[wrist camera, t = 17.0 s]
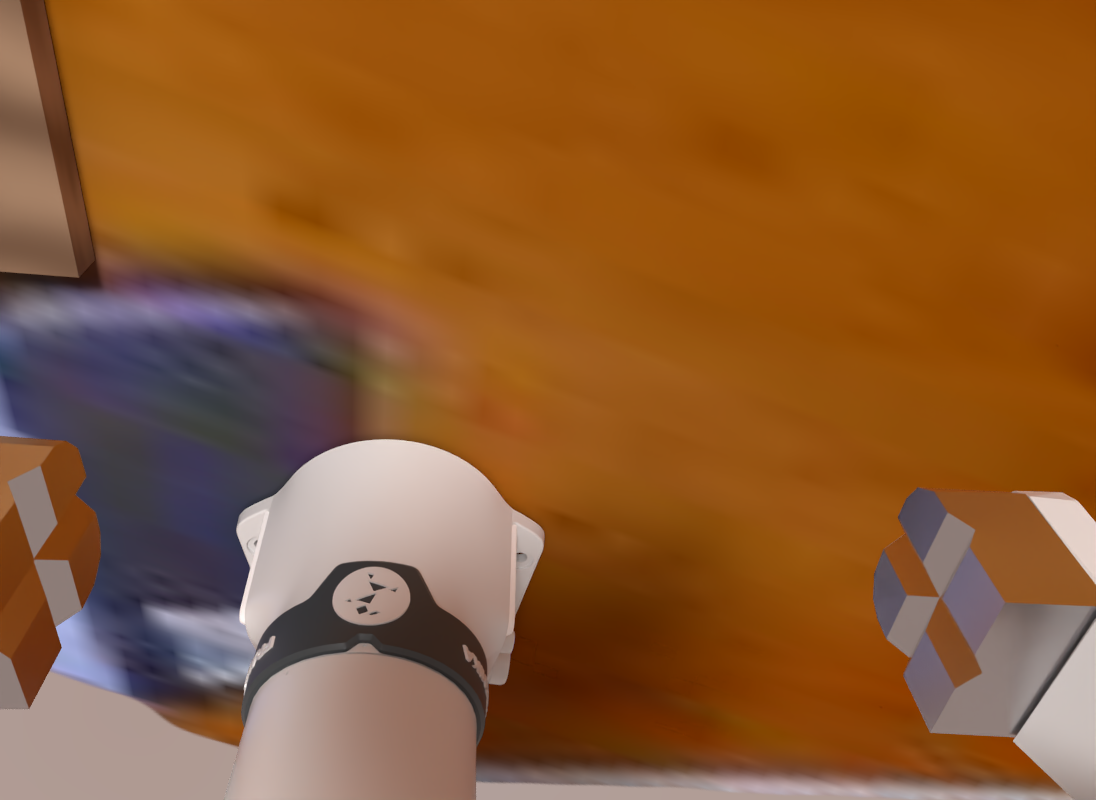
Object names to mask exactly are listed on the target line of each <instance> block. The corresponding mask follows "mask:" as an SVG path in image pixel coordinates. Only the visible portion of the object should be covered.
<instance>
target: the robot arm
mask: <svg viewBox="0 0 1096 800" xmlns="http://www.w3.org/2000/svg"><path fill="white" fill-rule="evenodd" d="M85 478H86V474H85V470H84V467H83V464H82V460H81V457H80V454H79V451H78V448H76V447H75V446H73V445H72V444H70V443H68V442H67V441H59V440H46V439H32V438H19V437H6V436H0V709H29V708H30V706H31V704H32V702H33V701H34V699H35V697H36V695H37V693H38V691H39V689H40V687H41V686H42V684H43V682H44V680H45V678H46V676H47V674H48V672H49V671H50V669H51V667H52V665H53V663H54V661H55V659H56V657H57V656H58V654H59V652H60V650H61V648H62V647H61V644H60V641H59V637H58V634H57V631H56V628H55V627H56V626H58V625H59V624H61V623H62V622H64V621H65V620H67V619H68V618H70V617H71V616H73V615H74V614H76V613H77V612H79V611H80V610H82V608H83V606H84V604H85V602H86V600H87V598H88V596H89V594H90V592H91V590H92V588H93V586H94V582H95V578H96V574H97V569H98V565H99V560H100V556H101V550H100V530H99V525H98V521H97V517H96V513H95V512H94V511H93V510H92V509H91V508H90V507H89V506H88V505H86V504H85V503H84V502H83V501H82V500H81V499H80V498H78V497H77V496H76V495H75V494H76V492H77V491H78V489H79V487H80V486H81V484H82V482H83V481H84V479H85ZM898 519H899V521H900V523H901V526H902V528H903V530H904V532H905V534H904V535H903V536H902V537H900V538H899V539H897V540H896V541H895V542H893V543H892V544H890V545H889V546H888V547H886V548H885V549H884V550H883V553H882V555H881V558H880V560H879V563H878V565H877V568H876V571H875V573H874V595H873V600H874V604H875V609H876V614H877V618H878V621H879V623H880V625H881V628H882V630H883V632H884V634H885V637H886V639H887V640H888V641H890V642H891V643H892V644H893V645H895V646H896V647H897V648H898V649H900V650H901V651H902V652H903V653H905V654H906V655H907V656H908V657H909V660H908V663H907V666H906V669H905V671H904V674H903V676H904V678H905V680H906V682H907V684H908V686H909V689H910V691H911V693H912V695H913V697H914V699H915V701H916V703H917V706H918V708H919V710H920V712H921V714H922V716H923V718H924V720H925V723H926V725H927V727H928V729H929V731H930V733H946V734H965V735H983V736H1002V737H1015V739H1014V740H1013V742H1014V743H1015V744H1016V745H1017V746H1018V747H1020V748H1021V749H1022V750H1023V751H1024V752H1025V753H1026V754H1027V755H1028V756H1029V757H1030V758H1031V759H1032V760H1033V761H1034V762H1035V763H1036V764H1037V765H1038V766H1039V767H1040V768H1042V769H1043V770H1044V771H1045V772H1046V773H1047V774H1048V775H1049V776H1050V777H1051V778H1052V779H1053V780H1054V781H1055V782H1056V783H1057V784H1058V785H1059V786H1060V787H1061V788H1062V789H1064V790H1065V791H1066V792H1067V793H1068V794H1069V795H1070V796H1071V797H1072V798H1073V799H1074V800H1096V522H1095V521H1094V520H1093V519H1092V518H1091V516H1090V515H1089V514H1088V513H1087V512H1086V510H1085V509H1084V508H1083V507H1082V506H1081V505H1080V503H1079V502H1078V501H1077V500H1075V499H1073V498H1071V497H1069V496H1068V495H1066V494H1064V493H1062V492H1031V491H1013V492H996V491H975V490H955V489H934V488H917V489H916V490H915V491H914V492H913V493H912V494H911V495H910V496H909V497H908V498H907V499H906V501H905V503H904V505H903V507H902V510H901V512H900V514H899V516H898ZM236 530H237V535H238V538H239V541H240V543H241V546H242V548H243V551H244V553H245V556H246V558H247V561H248V563H249V566H250V572H249V576H248V580H247V584H246V588H245V592H244V596H243V600H242V604H241V608H240V622H241V623H242V624H244V625H246V630H247V633H248V636H249V638H250V640H251V642H252V644H253V646H254V647H255V649H256V653H255V656H254V658H253V659H252V661H251V664H250V667H249V669H248V673H247V677H246V681H245V686H244V690H245V691H244V698H243V703H242V711H241V714H242V721H243V725H244V731H243V734H242V738H241V741H240V745H239V748H238V752H237V755H236V759H235V762H234V766H233V770H232V773H231V777H230V780H229V783H228V787H227V791H226V794H225V798H224V800H476V747H477V746H478V744H479V742H480V740H481V738H482V735H483V731H484V727H485V717H486V714H487V710H488V709H487V706H488V700H489V690H488V688H489V685H488V683H489V684H496V685H502V684H505V682H506V680H507V676H508V672H509V666H510V653H511V652H512V650H513V647H514V641H515V632H514V631H513V630H514V623H515V615H516V613H517V610H518V608H519V606H520V603H521V601H522V598H523V596H524V594H525V591H526V589H527V587H528V584H529V582H530V580H531V577H532V575H533V573H534V570H535V568H536V565H537V563H538V561H539V558H540V556H541V554H542V551H543V548H544V539H545V534H544V531H543V529H542V528H541V527H540V526H539V525H538V524H537V523H535V522H534V521H532V520H531V519H529V518H528V517H526V516H524V515H523V514H521V513H519V512H517V511H515V510H514V509H512V508H511V507H510V506H509V505H508V504H507V503H506V502H505V501H504V499H503V498H502V497H501V495H500V494H499V493H498V491H497V490H496V488H495V487H494V486H493V485H492V483H491V482H490V481H489V480H488V479H487V478H486V477H485V476H484V475H483V474H482V473H481V472H479V471H478V470H477V469H476V468H474V467H473V466H472V465H470V464H469V463H467V462H466V461H464V460H462V459H461V458H459V457H457V456H455V455H453V454H451V453H449V452H446V451H444V450H441V449H439V448H436V447H433V446H429V445H425V444H421V443H417V442H411V441H404V440H389V439H382V440H367V441H360V442H355V443H350V444H346V445H342V446H339V447H336V448H334V449H331V450H329V451H326V452H324V453H322V454H320V455H318V456H317V457H315V458H313V459H312V460H310V461H309V462H307V463H306V464H305V465H303V466H302V467H301V468H300V469H299V470H298V471H297V472H296V473H295V474H294V475H293V476H292V477H291V478H290V479H289V481H288V482H287V483H286V484H285V485H284V487H283V488H282V489H281V490H280V491H279V492H278V493H276V494H275V495H274V496H272V497H269V498H267V499H265V500H262V501H260V502H258V503H256V504H254V505H252V506H250V507H248V508H247V509H245V510H244V511H243V512H242V513H241V514H240V516H239V519H238V524H237V529H236ZM517 553H524V554H517Z"/></svg>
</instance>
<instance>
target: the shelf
mask: <svg viewBox="0 0 1096 800" xmlns="http://www.w3.org/2000/svg"><path fill="white" fill-rule="evenodd" d="M94 261H95V256H94V251H93V246H92V241H91V236H90V231H89V226H88V221H87V216H86V211H85V206H84V201H83V196H82V191H81V186H80V181H79V176H78V171H77V166H76V161H75V156H74V150H73V145H72V140H71V135H70V130H69V125H68V120H67V115H66V110H65V105H64V100H63V95H62V90H61V85H60V80H59V75H58V70H57V65H56V60H55V55H54V50H53V45H52V40H51V35H50V30H49V25H48V20H47V15H46V10H45V5H44V0H0V272H13V273H26V274H39V275H52V276H65V277H77V278H79V277H80V276H81V275H82V274H83V273H84V272H85V270H86V269H87V268H88V267H89V266H90V265H91V264H92V263H93V262H94Z"/></svg>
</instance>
